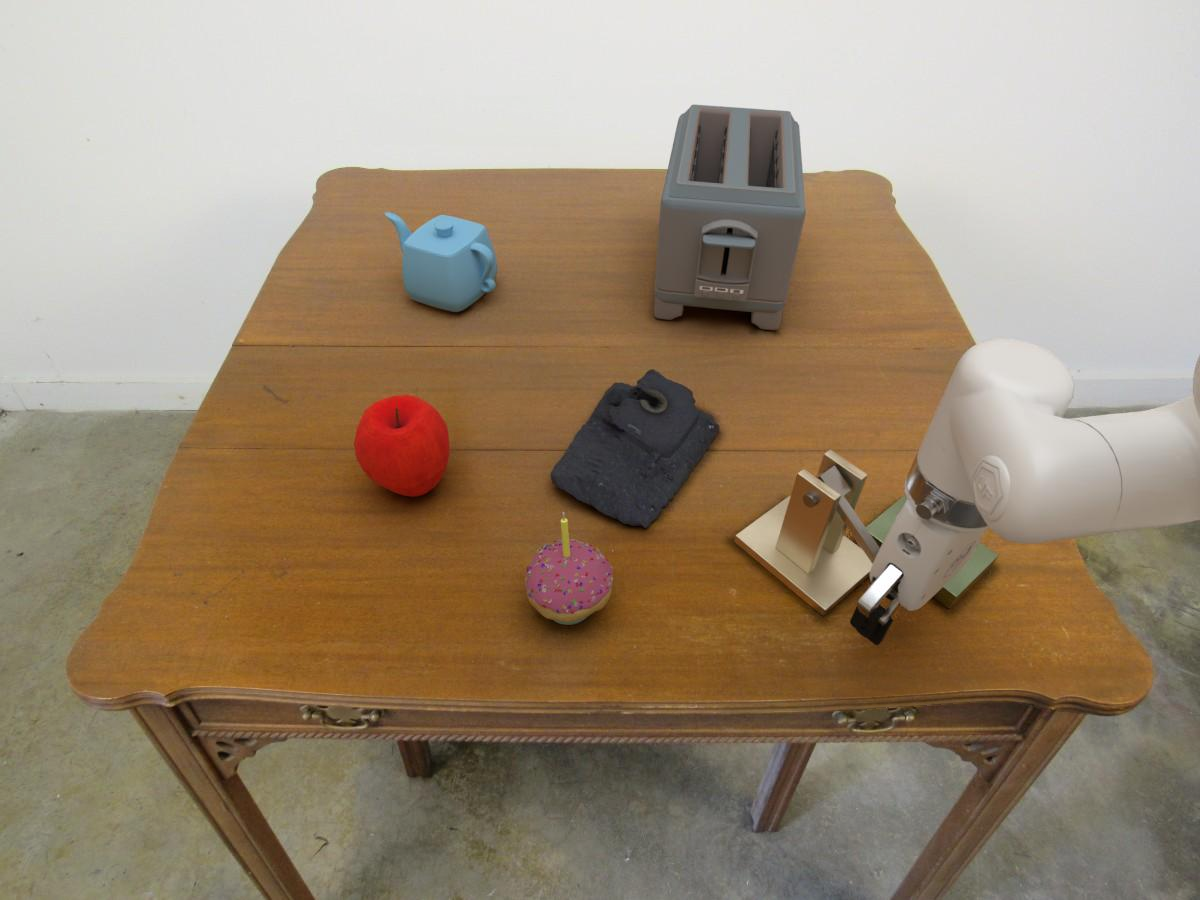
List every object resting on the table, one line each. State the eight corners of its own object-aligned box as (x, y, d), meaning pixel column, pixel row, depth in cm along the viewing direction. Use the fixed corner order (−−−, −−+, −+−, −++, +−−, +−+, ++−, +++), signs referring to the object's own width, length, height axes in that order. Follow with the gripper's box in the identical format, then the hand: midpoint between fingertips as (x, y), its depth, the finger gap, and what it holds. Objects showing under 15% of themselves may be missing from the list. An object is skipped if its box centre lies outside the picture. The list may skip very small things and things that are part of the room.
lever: (903, 592, 71) (927, 586, 69) (884, 610, 70) (907, 605, 67) (820, 471, 73) (840, 461, 70) (799, 486, 71) (819, 477, 69)
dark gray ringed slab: (528, 486, 85) (525, 458, 81) (621, 380, 98) (622, 352, 95) (646, 541, 80) (648, 512, 76) (727, 421, 93) (732, 392, 90)
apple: (355, 511, 82) (327, 433, 73) (388, 449, 89) (366, 370, 80) (441, 524, 81) (424, 446, 72) (468, 460, 88) (454, 381, 79)
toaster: (648, 335, 105) (658, 200, 91) (670, 221, 128) (680, 99, 114) (780, 349, 103) (811, 213, 89) (778, 230, 127) (802, 107, 112)
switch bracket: (877, 569, 77) (915, 488, 68) (822, 616, 73) (856, 537, 64) (788, 501, 84) (812, 419, 75) (733, 542, 80) (752, 459, 70)
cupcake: (521, 578, 76) (512, 502, 67) (601, 562, 77) (602, 486, 69) (536, 651, 70) (528, 578, 62) (622, 633, 72) (627, 559, 63)
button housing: (990, 567, 78) (1006, 544, 75) (948, 609, 74) (963, 586, 71) (901, 505, 83) (912, 481, 81) (858, 541, 80) (868, 517, 77)
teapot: (421, 257, 119) (408, 189, 111) (517, 284, 114) (512, 215, 106) (373, 296, 112) (356, 226, 103) (474, 327, 106) (465, 256, 98)
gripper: (940, 571, 53) (874, 686, 65) (1057, 461, 60) (979, 582, 73) (853, 509, 57) (806, 628, 69) (973, 413, 65) (913, 535, 77)
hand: (895, 604), depth 71 cm, fingers open, 9 cm apart
